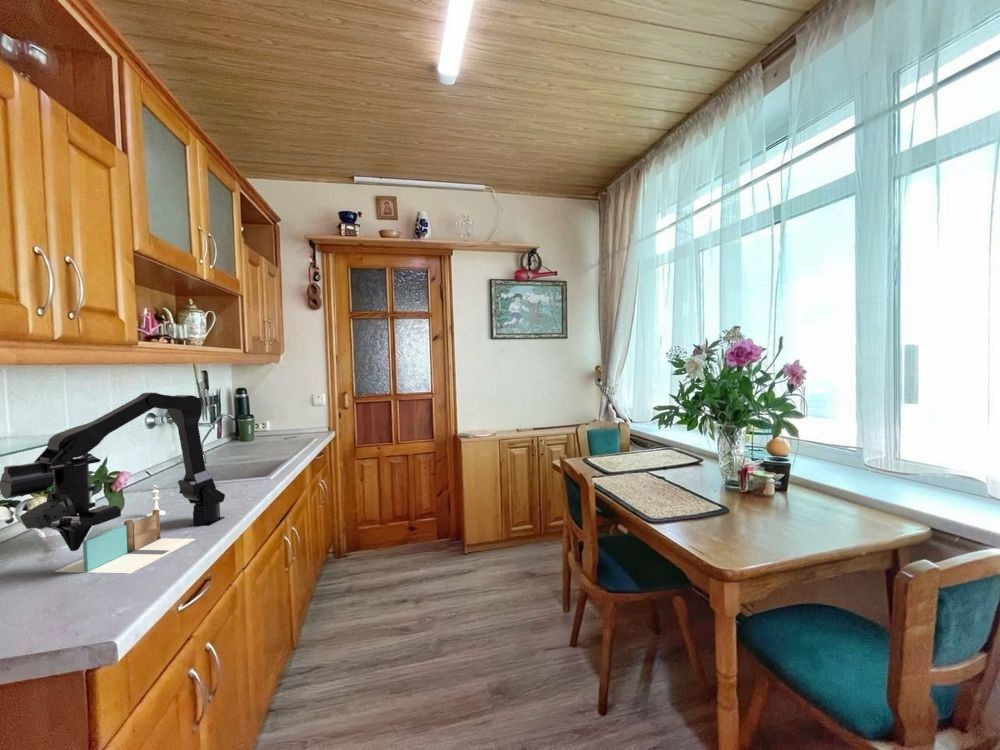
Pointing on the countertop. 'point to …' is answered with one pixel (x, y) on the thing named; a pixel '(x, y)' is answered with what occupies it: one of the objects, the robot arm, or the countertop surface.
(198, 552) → the countertop surface
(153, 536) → the fence fixed
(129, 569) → the card
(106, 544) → the mint green upright panel
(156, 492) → the chess piece
